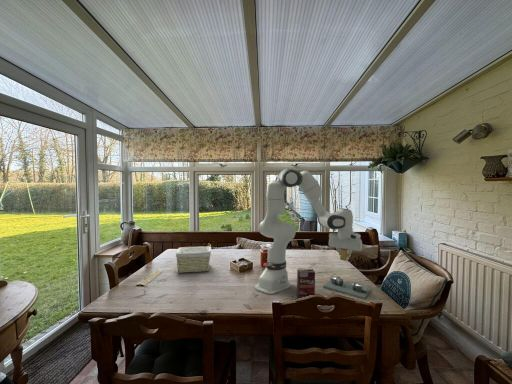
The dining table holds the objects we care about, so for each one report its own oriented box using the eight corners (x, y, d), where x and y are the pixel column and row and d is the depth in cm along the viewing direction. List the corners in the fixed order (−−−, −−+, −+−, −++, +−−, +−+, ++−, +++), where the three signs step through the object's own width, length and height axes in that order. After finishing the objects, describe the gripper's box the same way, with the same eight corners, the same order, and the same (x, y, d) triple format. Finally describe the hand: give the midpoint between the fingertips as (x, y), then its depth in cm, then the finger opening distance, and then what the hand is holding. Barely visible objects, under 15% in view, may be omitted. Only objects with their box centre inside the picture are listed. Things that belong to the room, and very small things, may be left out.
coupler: (346, 260, 145) (346, 249, 145) (340, 259, 147) (340, 248, 147) (349, 259, 149) (349, 248, 148) (342, 257, 151) (343, 247, 151)
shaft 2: (368, 291, 132) (368, 283, 132) (366, 294, 128) (366, 286, 128) (354, 287, 137) (354, 280, 137) (352, 290, 133) (352, 283, 133)
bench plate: (364, 299, 125) (364, 297, 125) (323, 287, 139) (323, 285, 139) (370, 290, 135) (370, 289, 135) (331, 280, 149) (331, 279, 149)
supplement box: (298, 302, 121) (299, 272, 121) (296, 298, 126) (296, 269, 125) (315, 302, 121) (315, 272, 121) (312, 297, 126) (312, 268, 126)
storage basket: (210, 264, 180) (210, 245, 180) (211, 272, 164) (210, 251, 164) (178, 266, 176) (178, 247, 175) (175, 274, 160) (175, 253, 159)
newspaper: (144, 287, 141) (144, 284, 141) (133, 287, 141) (133, 284, 141) (162, 272, 165) (162, 270, 164) (153, 272, 165) (153, 270, 165)
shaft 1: (343, 285, 140) (343, 278, 140) (337, 286, 138) (338, 279, 138) (334, 280, 147) (334, 274, 147) (328, 282, 145) (328, 275, 145)
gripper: (327, 232, 152) (326, 253, 152) (360, 237, 139) (360, 260, 139) (330, 231, 157) (330, 251, 157) (363, 235, 144) (362, 257, 144)
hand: (344, 255), depth 148 cm, fingers closed on coupler, 4 cm apart
